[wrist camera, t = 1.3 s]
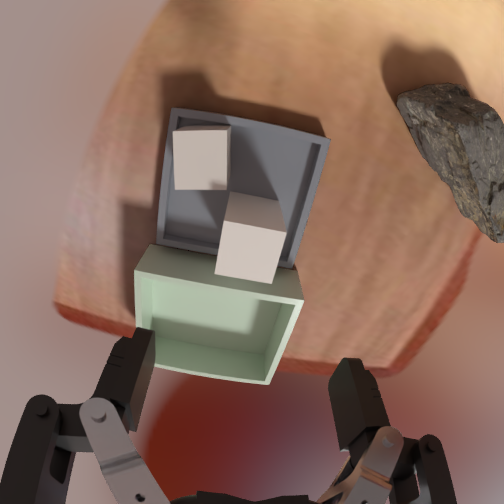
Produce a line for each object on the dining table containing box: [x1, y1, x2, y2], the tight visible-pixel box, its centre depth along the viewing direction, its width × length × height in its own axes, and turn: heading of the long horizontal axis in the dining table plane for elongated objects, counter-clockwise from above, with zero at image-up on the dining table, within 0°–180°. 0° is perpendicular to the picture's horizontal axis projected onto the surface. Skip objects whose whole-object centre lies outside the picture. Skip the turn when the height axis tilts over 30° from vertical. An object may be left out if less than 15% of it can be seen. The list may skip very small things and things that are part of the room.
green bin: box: [134, 244, 304, 385], centre depth 28 cm, size 12×14×4 cm
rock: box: [397, 83, 504, 243], centre depth 19 cm, size 17×7×10 cm
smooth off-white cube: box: [173, 125, 231, 190], centre depth 20 cm, size 4×4×4 cm
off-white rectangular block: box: [214, 191, 287, 284], centre depth 22 cm, size 4×4×6 cm
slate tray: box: [156, 107, 331, 269], centre depth 23 cm, size 12×12×2 cm
